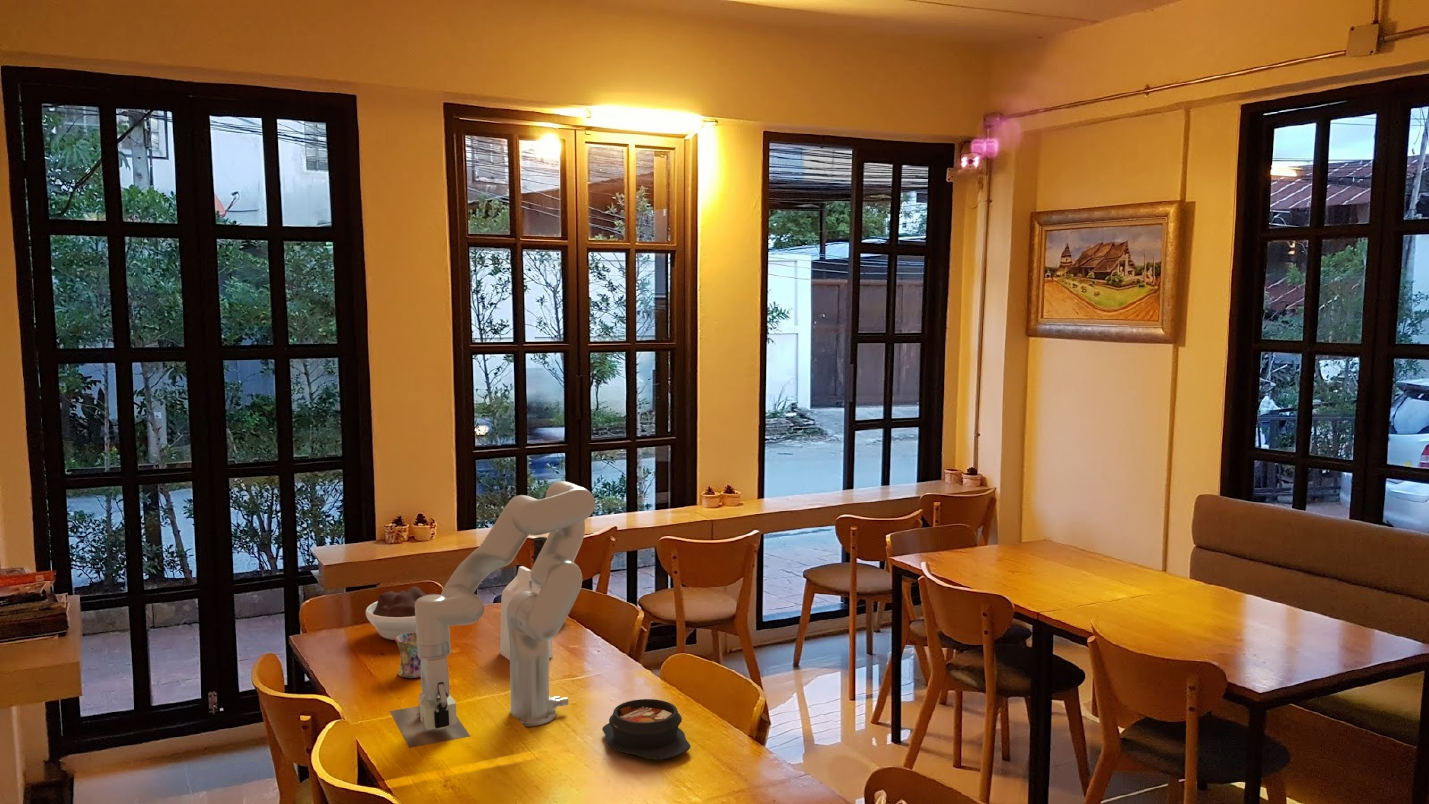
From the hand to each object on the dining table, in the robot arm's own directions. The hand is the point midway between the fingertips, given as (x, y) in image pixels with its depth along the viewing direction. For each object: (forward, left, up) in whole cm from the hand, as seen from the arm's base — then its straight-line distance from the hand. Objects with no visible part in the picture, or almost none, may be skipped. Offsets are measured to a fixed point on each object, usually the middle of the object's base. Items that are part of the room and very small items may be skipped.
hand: (438, 720), depth 243 cm
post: (+1, -12, -3) cm, 12 cm away
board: (+1, -6, -4) cm, 7 cm away
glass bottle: (-50, -75, -4) cm, 90 cm away
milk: (-36, -47, -4) cm, 59 cm away
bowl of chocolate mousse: (-9, -81, -4) cm, 82 cm away
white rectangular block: (0, 0, 0) cm, 0 cm away
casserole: (-42, +26, -5) cm, 50 cm away
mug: (-3, -47, -4) cm, 47 cm away
